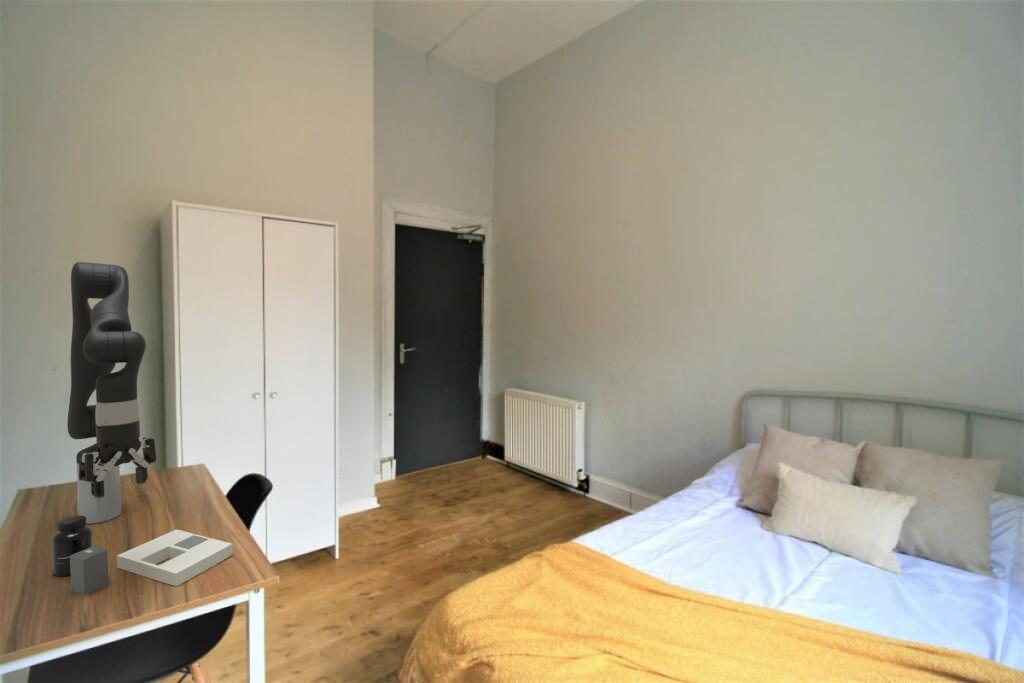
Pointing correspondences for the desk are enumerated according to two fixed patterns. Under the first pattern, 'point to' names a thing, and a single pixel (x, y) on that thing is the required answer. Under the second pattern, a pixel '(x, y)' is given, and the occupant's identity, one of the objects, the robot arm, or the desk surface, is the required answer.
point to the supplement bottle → (69, 542)
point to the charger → (89, 570)
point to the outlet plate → (175, 557)
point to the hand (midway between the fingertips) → (120, 489)
